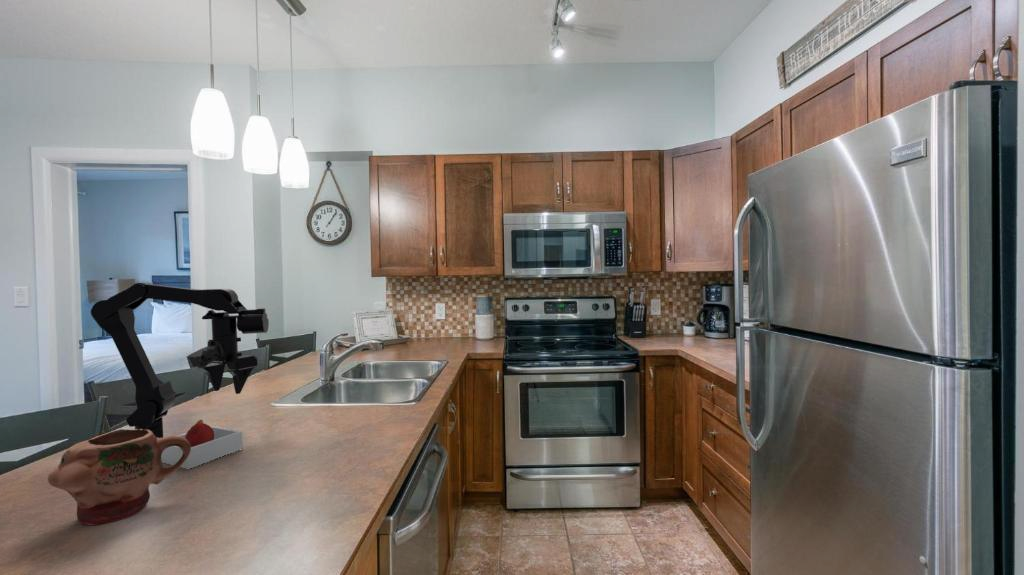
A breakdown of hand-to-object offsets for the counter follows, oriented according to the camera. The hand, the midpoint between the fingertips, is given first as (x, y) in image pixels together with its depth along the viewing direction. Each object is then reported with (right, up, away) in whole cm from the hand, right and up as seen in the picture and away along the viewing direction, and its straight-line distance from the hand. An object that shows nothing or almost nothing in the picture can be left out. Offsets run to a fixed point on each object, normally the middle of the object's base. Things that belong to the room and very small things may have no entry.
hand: (227, 392), depth 121 cm
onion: (+2, -12, -13) cm, 17 cm away
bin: (+2, -12, -13) cm, 18 cm away
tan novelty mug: (+5, -13, -38) cm, 40 cm away
